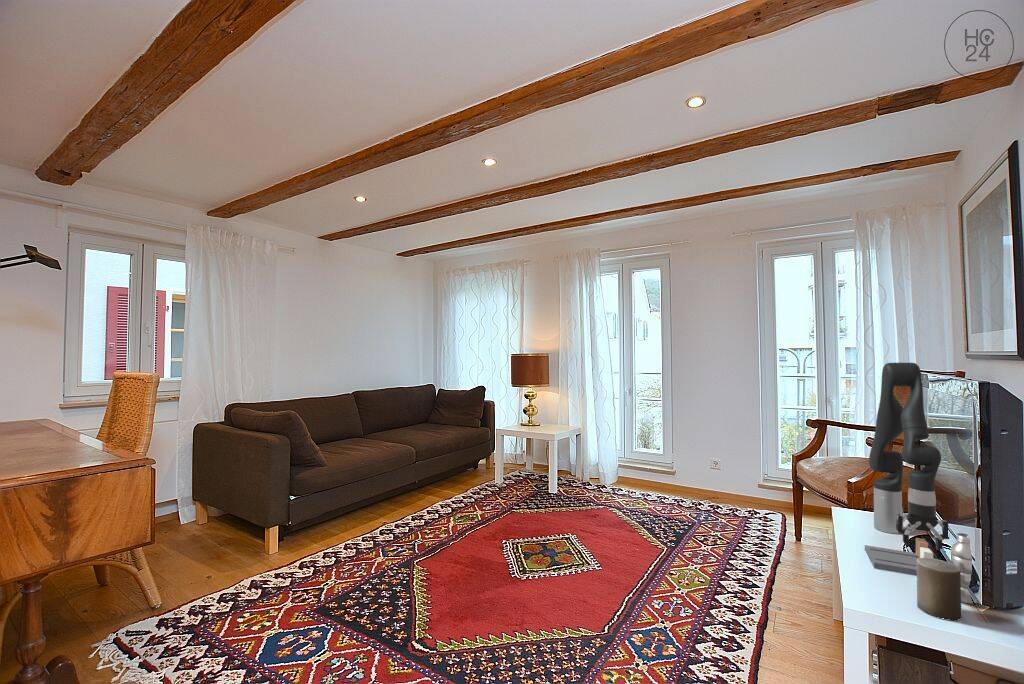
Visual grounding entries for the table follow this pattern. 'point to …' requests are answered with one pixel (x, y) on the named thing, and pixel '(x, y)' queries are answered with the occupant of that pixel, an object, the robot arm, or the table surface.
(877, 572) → the table surface
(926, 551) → the cream fader
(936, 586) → the pillar candle
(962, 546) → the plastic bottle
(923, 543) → the block
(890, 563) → the fader panel
